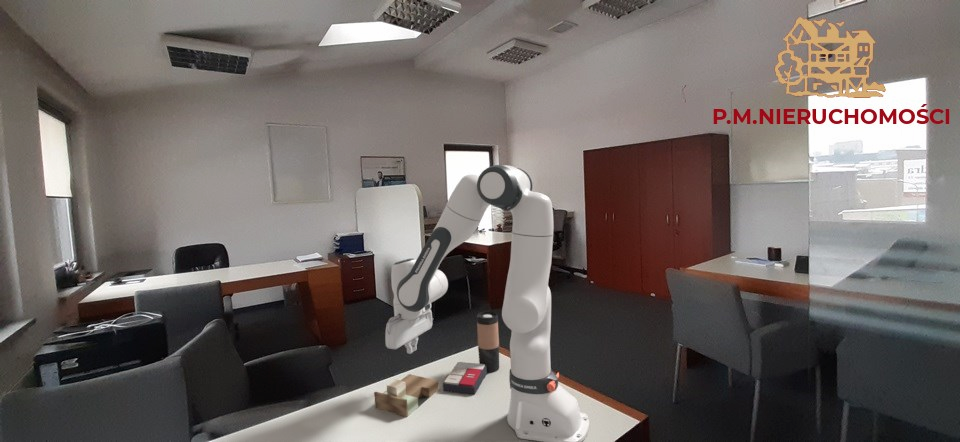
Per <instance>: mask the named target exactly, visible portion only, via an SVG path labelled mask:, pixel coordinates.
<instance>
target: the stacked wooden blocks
mask: <svg viewBox="0 0 960 442" xmlns="http://www.w3.org/2000/svg"><path fill="white" fill-rule="evenodd" d="M400 381H403V382H405V385H406V395H405V396H403V397H402V398H399V397H395V396H391V395H387V389H386V390H385V391H383V392H378V391H374V392H373V393H374V395H373V396H374V405H375V406H374V407H375V409H377V410H380V411H384V412H387V413H391V414H394V415H399V416H401V417H405V418H408V417H409V416H410V415H411V414H412V413H413V412H415V411H416V410H417V409H418V408H419V407H420V406H422V404H424V403H425V402H426V401H427V400H428V399H430V397H432V396H433V395H434V394H435V393H437V392H438V391H439V389H440V387H439V385H440V382H439V380H438V379H433V378H429V377H424V376H419V375H414V374H407V375H406V376H405V377H403V378H402V379H401V380H400Z"/></svg>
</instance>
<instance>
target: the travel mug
mask: <svg viewBox="0 0 960 442" xmlns="http://www.w3.org/2000/svg"><path fill="white" fill-rule="evenodd" d="M498 316H499V315H498V314H497V313H496V312H494V311H482V312H479V313H478V314H477V315H476V327H477V330H476V331H477V346H478V347H477V349H478V350H477V351H478V361H479V362H478V364H485V365H487V374H488V373H495V372H497V371H498V370H499V369H500V337H499V318H498Z"/></svg>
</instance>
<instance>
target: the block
mask: <svg viewBox="0 0 960 442" xmlns="http://www.w3.org/2000/svg"><path fill="white" fill-rule="evenodd" d="M386 390H387V395H391V396H395V397H399V398H402V397H403V396H405V395H406V385H405V382H403V381H400V380H398V379H394V380H392V381H391V382H389V383H388V384H386Z"/></svg>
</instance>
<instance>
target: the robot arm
mask: <svg viewBox="0 0 960 442" xmlns="http://www.w3.org/2000/svg"><path fill="white" fill-rule="evenodd" d="M490 205H491V206H493V207H496V208H497V209H501V210H502V211H506V212H510V214H511V216H512V228H511V229H512V230H511V246H510V258H509V259H510V260H509V268H508V272H507V278H506V284H505V290H504V296H503V297H504V298H503V304H502V309H501V319H502V321H503V323H504V324H505V326H506V327H507V328H508V329H510V330H511V333H510V334H511V335H510V341H509V353H510V354H509V356H510V357H509V358H510V369H509V379H508V380H509V388H510V399H509V400H510V401H509V408H508V413H507V416H506V420H507V423H508V425H509V427H511V428H512V429H513V430H514V431H515V435H516V436H517V438H519V439H521V440H530V441H537V442H583V441H584V439H586V437H587V435H588V433H589V431H590V430H589V429H590V420H589V417H588V415H587V413H585V412H581V409H580V405H579V402H578V400H577V398H576V397H575V396H574V395H572V394H571V393H569V391H567V389H565V388H564V387H563V386H561V385H560V384H559V378H560V372H557V373H556V374H555V372H554V371H553V370H552V368H551V329H552V328H551V327H552V326H551V325H552V292H551V289H550V287H549V279H550V273H551V266H552V257H553V245H554V244H553V243H554V229H555V227H554V226H555V225H554V209H553V203H552V200H551V198H550V197H548V195H546V194H544V193H541V192H538V191H533V180H532V178H531V176H530V175H529V174H528V172H526V171H525V170H523V169H521V168H519V167H515V166H512V165H509V164H508V165H506V164H504V165H503V164H495V165H492V166H488V167H486V168H485V169H484V170H482V172H481V173H480V174H479V175H477V174H466V175H465V176H463V177H461V179H460V180H459V182H457V184H456V186H455V188H454V189H453V191H452V193H451V195H450V196H449V198H448V200H447V203H446V205H445V206H444V209H443V211H442V213H441V216H440V217H439V219H438V221H437V224H436V225H435V227H434V229H433V230H432V232H431V234H430V236H429V237H428V239H427V240H426V242H425V244H424V246H423V248H422V249H421V251H420V253H419V255H418V256H417V258H406V259H403V260H399V261H396V262H394V264H393V265H392V266H391V273H390V274H391V277H390V278H391V290H392V293H393V299H392V300H393V301H392V302H393V314H394V316H391V317H390V318H389V319H388V321H387V323H386V324H385V325H386V327H385V337H384V339H385V347H386V348H387V349H391V350H397V349H399V348H400V347H402V346H404V347H405V348H406V353H407V354H409V355H411V354H413V353H414V352H416V351H417V350H418V349H417V348H418V347H417V345H418V341H419V336H421V335H422V334H424V333H425V332H427V331H429V330H431V329H432V327H433V312H432V303H433V302H435V301H437V300H439V299H440V298H442V297H443V296H444V295H445V294H446V293H447V291H448V288H449V280H448V277H447V275H446V273H444V272H443V270H441V269H439V267H440V264H441V263H442V261H443V260H444V259H445V258H446V257H447V255H448V254H449V253H450V252H452V251H453V250H454V249H455V248H457V247H458V246H460V245H461V244H463V243H465V242H467V241H468V240H469V239H471V237H472V236H473V234H474V233H475V232H476V230H477V229H478V226H479V225H480V223H481V221H482V219H483V217H484V215H485V212H486V211H487V209H488V208H489V206H490Z"/></svg>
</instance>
